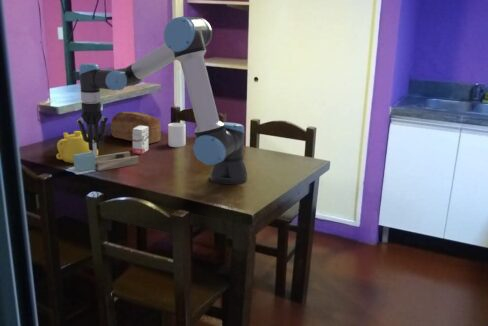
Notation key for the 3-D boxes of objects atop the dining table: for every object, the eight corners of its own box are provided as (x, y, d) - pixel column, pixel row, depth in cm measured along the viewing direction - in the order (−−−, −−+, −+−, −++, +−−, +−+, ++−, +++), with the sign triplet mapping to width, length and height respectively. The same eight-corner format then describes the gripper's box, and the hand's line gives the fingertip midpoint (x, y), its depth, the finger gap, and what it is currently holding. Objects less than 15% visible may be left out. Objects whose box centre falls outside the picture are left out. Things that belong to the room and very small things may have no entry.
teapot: (105, 159, 222) (104, 131, 219) (66, 167, 209) (64, 138, 205) (82, 150, 235) (80, 124, 232) (44, 157, 222) (41, 130, 218)
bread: (149, 146, 246) (148, 118, 242) (108, 138, 259) (106, 111, 255) (164, 141, 256) (164, 114, 252) (124, 133, 269) (123, 107, 265)
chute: (138, 164, 217) (138, 156, 215) (99, 170, 206) (98, 162, 205) (128, 158, 224) (128, 151, 223) (90, 164, 213) (89, 157, 212)
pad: (95, 171, 205) (95, 171, 205) (76, 174, 200) (76, 174, 200) (86, 165, 213) (86, 164, 212) (68, 168, 208) (68, 167, 208)
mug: (192, 143, 254) (192, 122, 251) (179, 148, 244) (179, 127, 240) (178, 141, 257) (177, 120, 254) (165, 146, 247) (164, 125, 244)
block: (95, 168, 207) (94, 155, 205) (78, 171, 203) (77, 157, 201) (90, 165, 211) (89, 152, 209) (74, 168, 207) (73, 154, 205)
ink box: (142, 154, 231) (141, 129, 228) (132, 153, 232) (131, 128, 229) (149, 149, 240) (148, 125, 236) (139, 148, 241) (138, 125, 237)
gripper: (102, 99, 208) (105, 153, 215) (71, 101, 201) (75, 157, 207) (109, 102, 203) (112, 157, 209) (78, 104, 195) (82, 161, 202)
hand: (94, 157), depth 208 cm, fingers closed
